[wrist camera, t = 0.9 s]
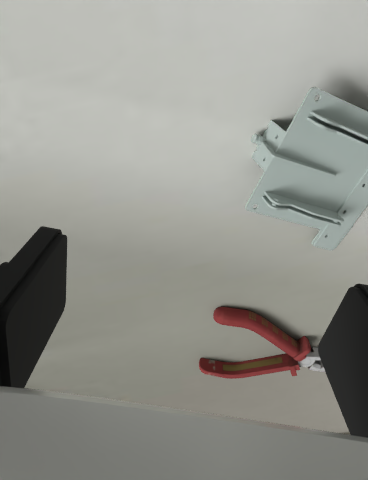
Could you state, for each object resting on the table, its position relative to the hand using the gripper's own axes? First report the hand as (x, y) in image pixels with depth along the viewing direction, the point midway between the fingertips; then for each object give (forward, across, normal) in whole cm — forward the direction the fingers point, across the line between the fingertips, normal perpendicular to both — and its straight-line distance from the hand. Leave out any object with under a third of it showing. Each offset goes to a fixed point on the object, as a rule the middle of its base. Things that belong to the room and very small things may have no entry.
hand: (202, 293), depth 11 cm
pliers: (+24, -15, +26) cm, 39 cm away
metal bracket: (+23, -12, 0) cm, 26 cm away
